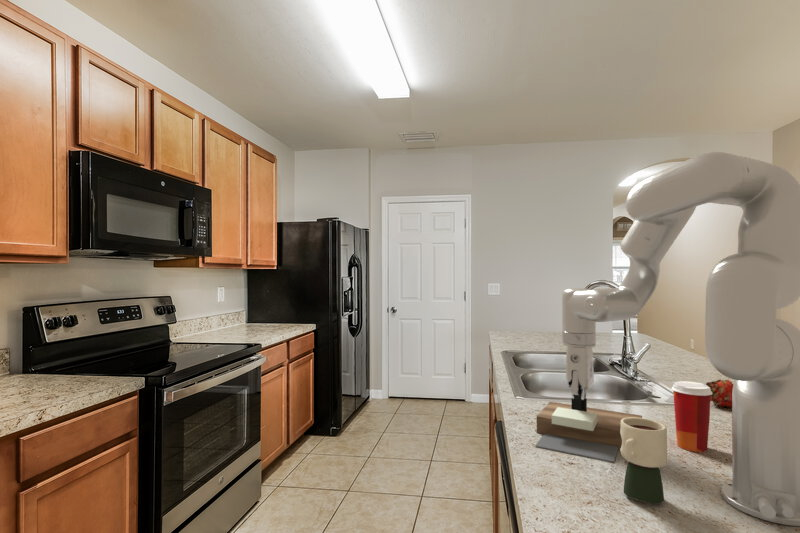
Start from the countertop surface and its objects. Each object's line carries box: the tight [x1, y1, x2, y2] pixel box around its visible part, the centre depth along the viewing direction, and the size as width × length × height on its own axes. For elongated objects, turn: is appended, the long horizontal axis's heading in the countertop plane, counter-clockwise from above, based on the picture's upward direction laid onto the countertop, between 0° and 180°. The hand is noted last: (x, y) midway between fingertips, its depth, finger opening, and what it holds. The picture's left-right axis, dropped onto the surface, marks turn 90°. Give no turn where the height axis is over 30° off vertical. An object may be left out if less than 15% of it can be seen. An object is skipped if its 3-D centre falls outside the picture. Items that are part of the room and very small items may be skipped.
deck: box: [536, 401, 643, 449], centre depth 109 cm, size 14×22×4 cm, turn 59°
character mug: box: [619, 417, 668, 505], centre depth 77 cm, size 11×7×13 cm, turn 125°
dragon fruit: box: [705, 379, 733, 409], centre depth 130 cm, size 8×8×12 cm
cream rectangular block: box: [552, 407, 598, 431], centre depth 104 cm, size 6×9×2 cm, turn 57°
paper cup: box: [670, 380, 713, 453], centre depth 100 cm, size 8×8×14 cm
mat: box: [534, 433, 619, 464], centre depth 100 cm, size 9×16×1 cm, turn 59°
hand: (579, 414), depth 108 cm, fingers closed
